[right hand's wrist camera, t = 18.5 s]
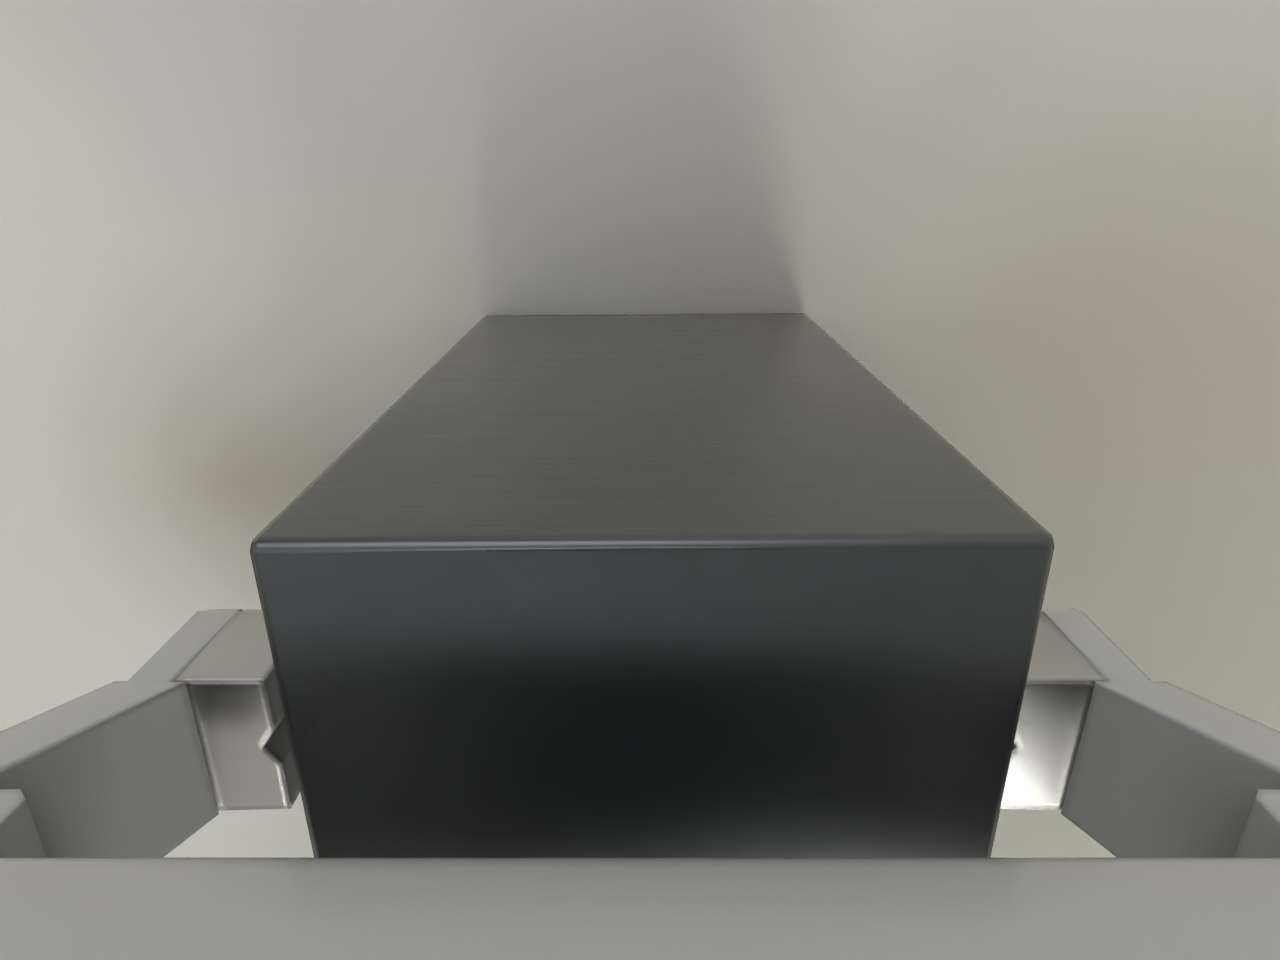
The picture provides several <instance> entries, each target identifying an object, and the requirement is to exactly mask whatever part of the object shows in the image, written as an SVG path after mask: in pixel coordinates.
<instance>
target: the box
mask: <svg viewBox="0 0 1280 960" xmlns="http://www.w3.org/2000/svg"><path fill="white" fill-rule="evenodd" d="M1053 551H1054V543H1053V538H1052V535H1051V534H1050V533H1049V532H1048V531H1047V530H1046V529H1044V528H1043V527H1042V526H1041V525H1040V524H1039V523H1038V522H1037V521H1036V520H1034V519H1033V518H1032V517H1031V516H1030V515H1029V514H1028V513H1027V512H1025V511H1024V510H1023V509H1022V508H1021V507H1020V506H1019V505H1018V504H1017V503H1015V502H1014V501H1013V500H1012V499H1011V498H1010V497H1009V496H1008V495H1006V494H1005V493H1004V492H1003V491H1002V490H1001V489H1000V488H999V487H998V486H996V485H995V484H994V483H993V482H992V481H991V480H990V479H989V478H987V477H986V476H985V475H984V474H983V473H982V472H981V471H980V470H979V469H977V468H976V467H975V466H974V465H973V464H972V463H971V462H970V461H968V460H967V459H966V458H965V457H964V456H963V455H962V454H961V453H960V452H958V451H957V450H956V449H955V448H954V447H953V446H952V445H951V444H949V443H948V442H947V441H946V440H945V439H944V438H943V437H942V436H941V435H939V434H938V433H937V432H936V431H935V430H934V429H933V428H932V427H930V426H929V425H928V424H927V423H926V422H925V421H924V420H923V419H922V418H920V417H919V416H918V415H917V414H916V413H915V412H914V411H913V410H911V409H910V408H909V407H908V406H907V405H906V404H905V403H904V402H903V401H901V400H900V399H899V398H898V397H897V396H896V395H895V394H894V393H892V392H891V391H890V390H889V389H888V388H887V387H886V386H885V385H884V384H882V383H881V382H880V381H879V380H878V379H877V378H876V377H875V376H873V375H872V374H871V373H870V372H869V371H868V370H867V369H866V368H865V367H863V366H862V365H861V364H860V363H859V362H858V361H857V360H856V359H854V358H853V357H852V356H851V355H850V354H849V353H848V352H847V351H846V350H844V349H843V348H842V347H841V346H840V345H839V344H838V343H837V342H835V341H834V340H833V339H832V338H831V337H830V336H829V335H828V334H827V333H825V332H824V331H823V330H822V329H821V328H820V327H819V326H818V325H817V324H815V323H814V322H813V321H812V320H811V319H810V318H809V317H808V316H806V315H804V314H698V315H563V316H486V317H484V318H483V319H482V320H481V321H480V322H479V323H478V324H477V325H476V326H475V327H474V328H472V329H471V330H470V331H469V332H468V333H467V334H466V335H465V336H464V337H463V338H462V339H461V340H460V341H459V342H458V343H457V344H456V345H455V346H454V347H453V348H452V349H451V350H450V351H449V352H448V353H446V354H445V355H444V356H443V357H442V358H441V359H440V360H439V361H438V362H437V363H436V364H435V365H434V366H433V367H432V368H431V369H430V370H429V371H428V372H427V373H426V374H425V375H424V376H423V377H422V378H420V379H419V380H418V381H417V382H416V383H415V384H414V385H413V386H412V387H411V388H410V389H409V390H408V391H407V392H406V393H405V394H404V395H403V396H402V397H401V398H400V399H399V400H398V401H397V402H396V403H394V404H393V405H392V406H391V407H390V408H389V409H388V410H387V411H386V412H385V413H384V414H383V415H382V416H381V417H380V418H379V419H378V420H377V421H376V422H375V423H374V424H373V425H372V426H371V427H369V428H368V429H367V430H366V431H365V432H364V433H363V434H362V435H361V436H360V437H359V438H358V439H357V440H356V441H355V442H354V443H353V444H352V445H351V446H350V447H349V448H348V449H347V450H346V451H345V452H343V453H342V454H341V455H340V456H339V457H338V458H337V459H336V460H335V461H334V462H333V463H332V464H331V465H330V466H329V467H328V468H327V469H326V470H325V471H324V472H323V473H322V474H321V475H320V476H319V477H317V478H316V479H315V480H314V481H313V482H312V483H311V484H310V485H309V486H308V487H307V488H306V489H305V490H304V491H303V492H302V493H301V494H300V495H299V496H298V497H297V498H296V499H295V500H294V501H293V502H291V503H290V504H289V505H288V506H287V507H286V508H285V509H284V510H283V511H282V512H281V513H280V514H279V515H278V516H277V517H276V518H275V519H274V520H273V521H272V522H271V523H270V524H269V525H268V526H267V527H265V528H264V529H263V530H262V531H261V532H260V533H259V534H258V535H257V536H256V537H255V538H254V539H253V540H252V543H251V548H250V554H251V559H252V564H253V569H254V573H255V578H256V583H257V588H258V592H259V597H260V602H261V607H262V611H263V616H264V621H265V626H266V630H267V635H268V640H269V645H270V649H271V654H272V659H273V663H274V668H275V673H276V678H277V682H278V687H279V692H280V697H281V701H282V706H283V711H284V716H285V720H286V725H287V730H288V735H289V739H290V744H291V749H292V754H293V758H294V763H295V768H296V773H297V777H298V782H299V787H300V792H301V796H302V801H303V806H304V810H305V815H306V820H307V825H308V829H309V834H310V839H311V844H312V848H313V853H314V858H990V856H991V851H992V846H993V841H994V837H995V832H996V827H997V822H998V817H999V812H1000V807H1001V803H1002V798H1003V793H1004V788H1005V783H1006V778H1007V774H1008V769H1009V764H1010V759H1011V754H1012V749H1013V744H1014V740H1015V735H1016V730H1017V725H1018V720H1019V715H1020V711H1021V706H1022V701H1023V696H1024V691H1025V686H1026V681H1027V677H1028V672H1029V667H1030V662H1031V657H1032V652H1033V647H1034V643H1035V638H1036V633H1037V628H1038V623H1039V618H1040V614H1041V609H1042V604H1043V599H1044V594H1045V589H1046V584H1047V580H1048V575H1049V570H1050V565H1051V560H1052V555H1053Z"/></svg>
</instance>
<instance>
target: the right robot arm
mask: <svg viewBox="0 0 1280 960" xmlns="http://www.w3.org/2000/svg"><path fill="white" fill-rule="evenodd" d="M299 793H300V787H299V782H298V777H297V773H296V768H295V763H294V758H293V754H292V749H291V744H290V739H289V735H288V730H287V725H286V720H285V716H284V711H283V706H282V701H281V697H280V692H279V687H278V682H277V678H276V673H275V668H274V663H273V659H272V654H271V649H270V645H269V640H268V635H267V630H266V626H265V621H264V616H263V611H262V610H241V609H218V610H204V611H198V612H197V613H196V614H195V615H194V616H193V617H192V618H191V619H190V620H189V621H188V622H187V623H186V624H185V625H184V626H183V627H182V628H181V629H180V630H179V631H178V632H177V633H176V634H175V635H174V636H173V637H172V638H171V639H170V640H169V641H168V642H167V643H166V644H165V645H164V646H163V647H162V648H161V649H160V650H159V651H158V652H157V653H156V654H155V655H154V656H153V657H152V658H151V659H150V660H149V661H148V662H147V663H146V664H145V665H144V666H143V667H142V668H141V669H140V670H139V671H138V672H137V673H136V674H135V675H134V676H133V677H132V678H131V679H130V680H129V681H128V682H113V683H110V684H108V685H106V686H103V687H101V688H99V689H97V690H94V691H92V692H90V693H88V694H85V695H83V696H81V697H78V698H76V699H74V700H72V701H69V702H67V703H65V704H63V705H60V706H58V707H56V708H54V709H51V710H49V711H47V712H44V713H42V714H40V715H38V716H35V717H33V718H31V719H29V720H26V721H24V722H22V723H19V724H17V725H15V726H13V727H10V728H8V729H6V730H4V731H1V732H0V960H1280V732H1278V731H1276V730H1274V729H1272V728H1269V727H1267V726H1265V725H1263V724H1260V723H1258V722H1256V721H1253V720H1251V719H1249V718H1247V717H1244V716H1242V715H1240V714H1238V713H1235V712H1233V711H1231V710H1229V709H1226V708H1224V707H1222V706H1220V705H1217V704H1215V703H1213V702H1210V701H1208V700H1206V699H1204V698H1201V697H1199V696H1197V695H1195V694H1192V693H1190V692H1188V691H1186V690H1183V689H1181V688H1179V687H1177V686H1174V685H1172V684H1170V683H1167V682H1152V681H1151V680H1150V679H1149V678H1148V677H1147V676H1146V675H1145V674H1144V673H1143V672H1142V671H1141V670H1140V669H1139V668H1138V667H1137V666H1136V665H1135V664H1134V663H1133V662H1132V661H1131V660H1130V659H1129V658H1128V657H1127V656H1126V655H1125V654H1124V653H1123V652H1122V651H1121V650H1120V649H1119V648H1118V647H1117V646H1116V645H1115V644H1114V643H1113V642H1112V641H1111V640H1110V639H1109V638H1108V637H1107V636H1106V635H1105V634H1104V633H1103V632H1102V631H1101V630H1100V629H1099V628H1098V627H1097V626H1096V625H1095V624H1094V623H1093V622H1092V621H1091V620H1090V619H1089V618H1088V617H1087V616H1086V615H1085V614H1084V613H1083V612H1081V611H1078V610H1075V609H1055V610H1041V614H1040V618H1039V623H1038V628H1037V633H1036V638H1035V643H1034V647H1033V652H1032V657H1031V662H1030V667H1029V672H1028V677H1027V681H1026V686H1025V691H1024V696H1023V701H1022V706H1021V711H1020V715H1019V720H1018V725H1017V730H1016V735H1015V740H1014V744H1013V749H1012V754H1011V759H1010V764H1009V769H1008V774H1007V778H1006V783H1005V788H1004V793H1003V798H1002V803H1001V807H1000V809H1029V810H1062V812H1061V814H1062V815H1064V816H1065V817H1066V818H1067V819H1069V820H1070V821H1071V822H1073V823H1074V824H1075V825H1076V826H1078V827H1079V828H1080V829H1082V830H1083V831H1084V832H1085V833H1087V834H1088V835H1089V836H1091V837H1092V838H1093V839H1094V840H1096V841H1097V842H1098V843H1099V844H1101V845H1102V846H1103V847H1105V848H1106V849H1107V850H1108V851H1110V852H1111V853H1112V854H1114V855H1115V856H1116V857H1117V858H163V857H164V856H165V855H167V854H168V853H169V852H171V851H172V850H173V849H174V848H176V847H177V846H178V845H180V844H181V843H182V842H183V841H185V840H186V839H187V838H189V837H190V836H191V835H192V834H194V833H195V832H196V831H197V830H199V829H200V828H201V827H203V826H204V825H205V824H206V823H208V822H209V821H210V820H212V819H213V818H214V817H215V816H217V815H218V813H219V812H218V810H250V809H285V808H291V807H292V805H293V803H294V802H295V800H296V798H297V796H298V794H299Z"/></svg>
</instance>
